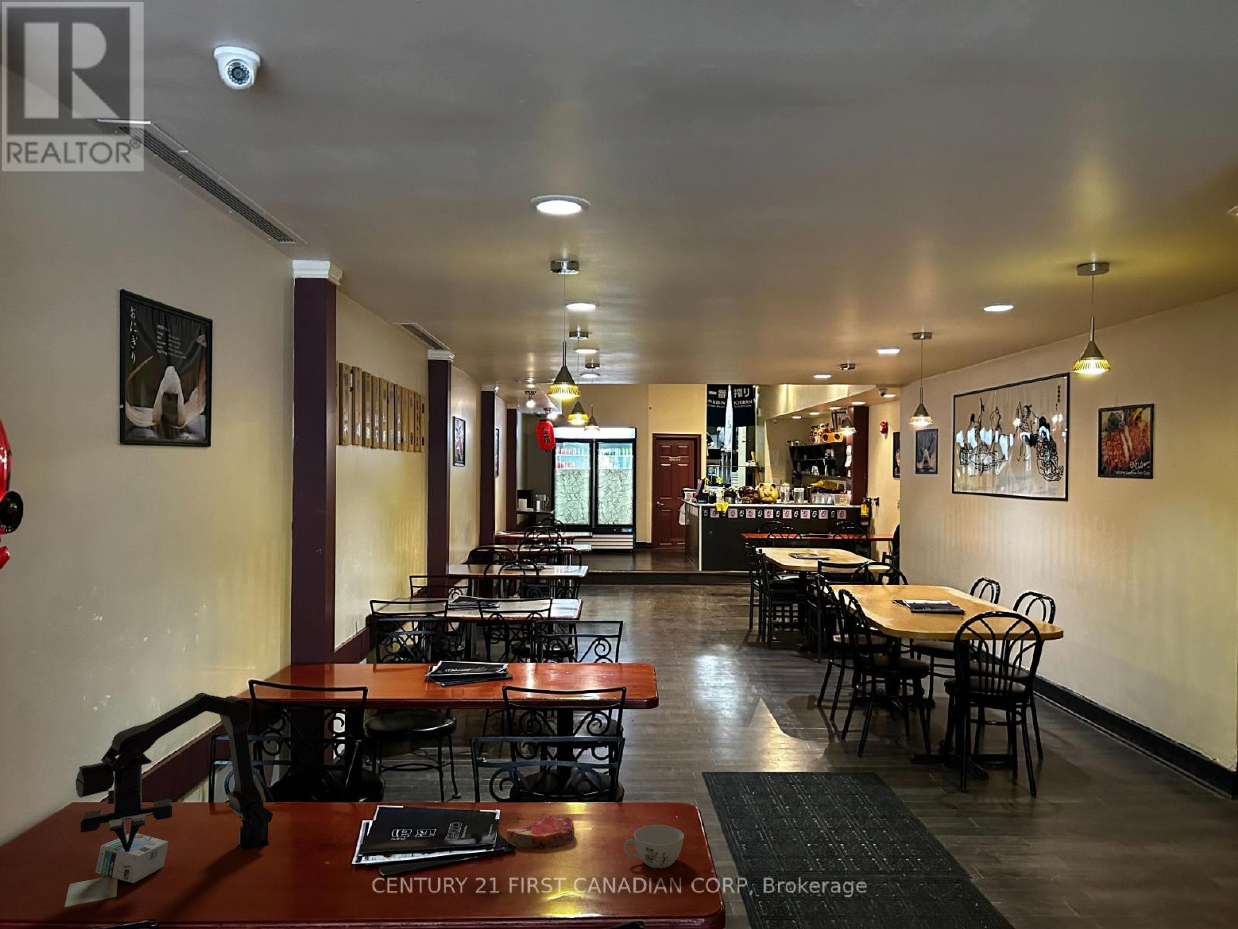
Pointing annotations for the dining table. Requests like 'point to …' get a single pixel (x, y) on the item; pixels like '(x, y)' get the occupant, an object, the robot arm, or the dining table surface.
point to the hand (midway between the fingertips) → (127, 851)
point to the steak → (543, 833)
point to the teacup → (656, 845)
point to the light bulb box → (132, 858)
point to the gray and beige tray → (91, 891)
